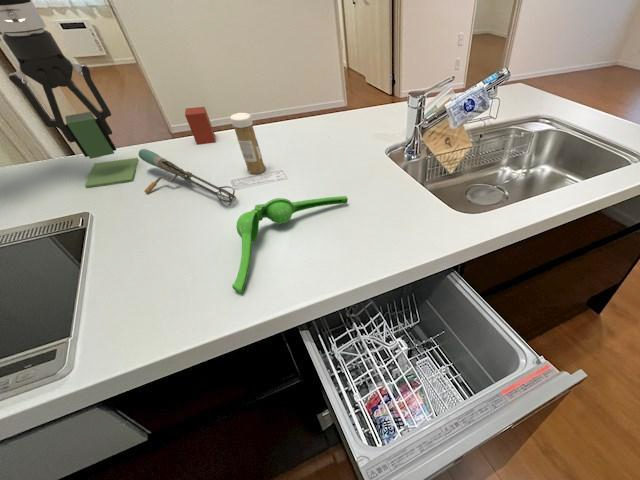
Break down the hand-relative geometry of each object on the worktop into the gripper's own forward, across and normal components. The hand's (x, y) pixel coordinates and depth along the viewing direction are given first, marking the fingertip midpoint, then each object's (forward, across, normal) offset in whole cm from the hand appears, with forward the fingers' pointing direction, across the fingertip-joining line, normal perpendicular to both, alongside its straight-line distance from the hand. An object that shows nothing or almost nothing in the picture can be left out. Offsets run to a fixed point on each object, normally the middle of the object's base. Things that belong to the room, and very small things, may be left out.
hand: (100, 151), depth 83 cm
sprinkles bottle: (+6, +30, -18) cm, 36 cm away
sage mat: (+6, 0, 0) cm, 6 cm away
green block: (0, 0, 0) cm, 0 cm away
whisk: (+6, +12, -18) cm, 23 cm away
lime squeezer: (+6, +24, -48) cm, 54 cm away
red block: (+6, +25, +7) cm, 26 cm away
